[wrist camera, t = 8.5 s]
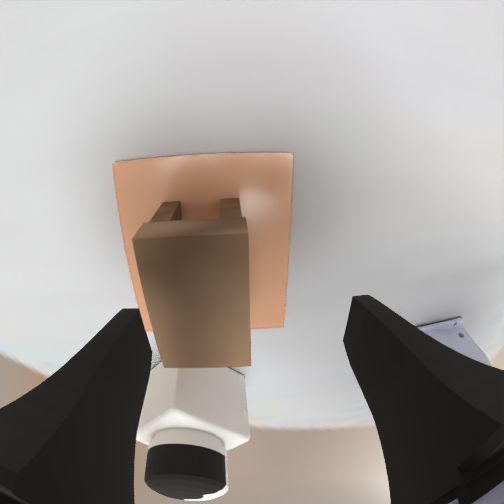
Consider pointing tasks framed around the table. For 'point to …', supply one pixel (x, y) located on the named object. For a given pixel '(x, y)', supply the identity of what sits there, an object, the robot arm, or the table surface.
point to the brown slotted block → (197, 286)
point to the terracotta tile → (217, 213)
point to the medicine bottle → (192, 429)
